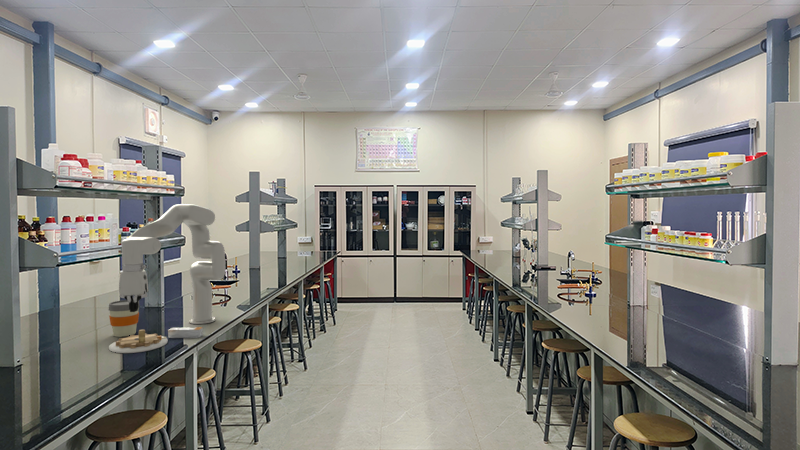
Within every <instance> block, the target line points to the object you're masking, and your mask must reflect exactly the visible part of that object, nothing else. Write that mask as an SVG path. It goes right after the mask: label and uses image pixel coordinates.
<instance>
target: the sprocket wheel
mask: <svg viewBox="0 0 800 450" xmlns="http://www.w3.org/2000/svg"><path fill="white" fill-rule="evenodd" d="M162 336H163V335H158V333H151V334H148V333H147V332H146V329H139V330H138V334H137V335H135V334H133V335H130V336H125V337H121V338H118V340H115V342H116V346H119V348H125V347H131V348H136V347H140V346H145V347H146V346H150V344H153V343H159V342H160V340H162Z"/></svg>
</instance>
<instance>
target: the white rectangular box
mask: <svg viewBox="0 0 800 450" xmlns="http://www.w3.org/2000/svg"><path fill="white" fill-rule="evenodd" d="M203 329H204V328H203V326H197V327H171V328H170V329H167V339H197V338H198V339H199V338H201V337H202V336H203V335H204V334H203V333H204V332H203V331H204V330H203Z"/></svg>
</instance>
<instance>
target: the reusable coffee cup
mask: <svg viewBox="0 0 800 450" xmlns="http://www.w3.org/2000/svg"><path fill="white" fill-rule="evenodd" d="M139 309H140V300H139V301H138V310H137V311H135V312H130V309H129V303H128V301H127V300H126V299H123V300H115V301H112V302H109V303H108V311H109V315H108V317H109V323H110V326H111V327H112V333H113V334H112V335H113V336H114V337H118V338H119V337H121V338H124V337H129V335H135V334H136V332H137V324H138V323H139V317H140V312H139Z"/></svg>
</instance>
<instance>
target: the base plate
mask: <svg viewBox="0 0 800 450" xmlns="http://www.w3.org/2000/svg"><path fill="white" fill-rule="evenodd" d="M161 336H162V340H160V342H159V343H153V344H150V346H146V347H145V346H140V347H136V348H131V347H125V348H119V346H116V341H114V342H112V343H111V344H109V345H108V350H109V352H111V351H112V353H115V352H116V354H133V353H134V354H135V353H142V352H147V351H148V352H149V351H152V350H156V349H159V348H162V347H164V346H165V345H167V344H168V339H169V338H168V336H163V335H161Z"/></svg>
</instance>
